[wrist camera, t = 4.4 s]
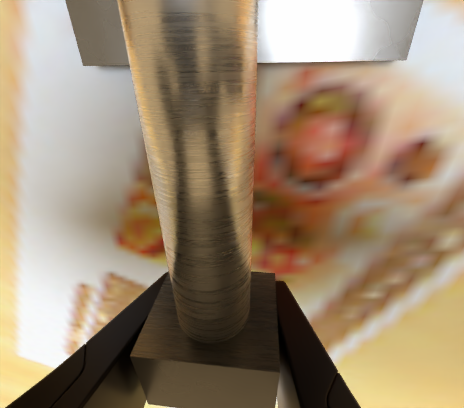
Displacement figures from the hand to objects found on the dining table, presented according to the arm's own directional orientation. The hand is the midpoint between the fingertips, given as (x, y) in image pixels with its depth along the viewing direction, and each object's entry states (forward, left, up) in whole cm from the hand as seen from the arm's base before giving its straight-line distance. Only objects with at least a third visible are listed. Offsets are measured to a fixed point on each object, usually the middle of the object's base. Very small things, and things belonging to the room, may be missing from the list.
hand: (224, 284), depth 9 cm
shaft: (+8, 0, 0) cm, 9 cm away
